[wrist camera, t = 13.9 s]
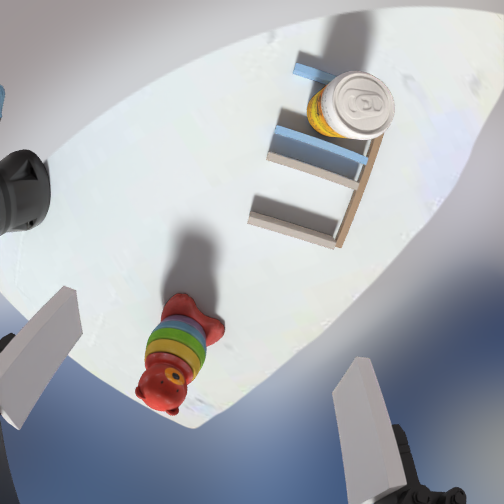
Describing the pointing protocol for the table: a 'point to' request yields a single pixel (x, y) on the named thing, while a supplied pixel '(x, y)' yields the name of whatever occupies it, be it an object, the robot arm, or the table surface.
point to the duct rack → (358, 186)
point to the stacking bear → (176, 353)
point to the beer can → (352, 107)
